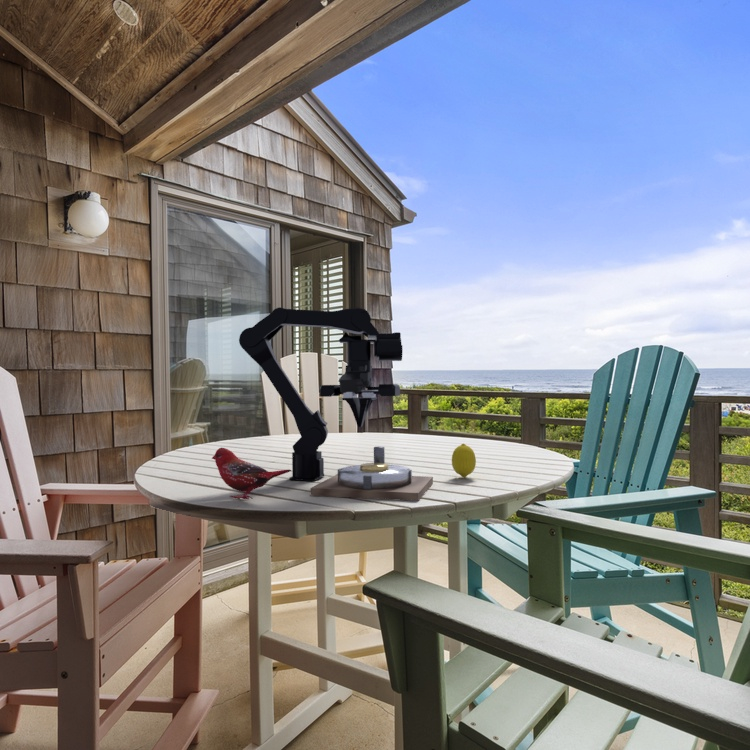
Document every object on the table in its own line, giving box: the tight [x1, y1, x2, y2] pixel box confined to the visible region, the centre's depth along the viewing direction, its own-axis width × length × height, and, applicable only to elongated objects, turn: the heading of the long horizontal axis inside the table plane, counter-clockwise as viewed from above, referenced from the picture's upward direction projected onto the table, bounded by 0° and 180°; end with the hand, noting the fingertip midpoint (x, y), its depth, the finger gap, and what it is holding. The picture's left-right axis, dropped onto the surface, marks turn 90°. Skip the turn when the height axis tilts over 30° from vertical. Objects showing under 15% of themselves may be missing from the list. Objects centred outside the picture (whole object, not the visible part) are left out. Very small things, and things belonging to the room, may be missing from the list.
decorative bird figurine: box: [211, 447, 292, 500], centre depth 99 cm, size 3×18×10 cm, turn 72°
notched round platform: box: [337, 446, 413, 489], centre depth 107 cm, size 16×16×6 cm
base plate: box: [309, 473, 434, 502], centre depth 107 cm, size 22×17×2 cm
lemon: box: [451, 443, 477, 479], centre depth 119 cm, size 6×6×8 cm
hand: (360, 426), depth 121 cm, fingers closed
